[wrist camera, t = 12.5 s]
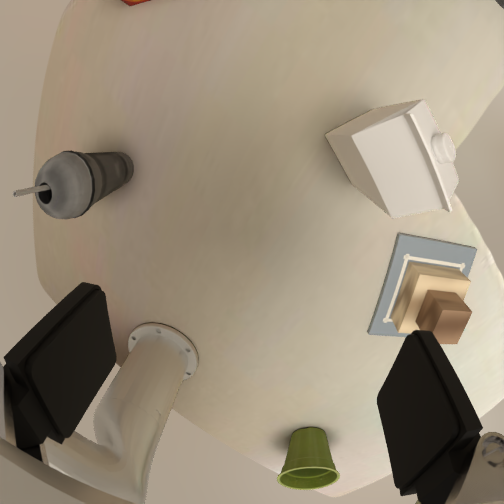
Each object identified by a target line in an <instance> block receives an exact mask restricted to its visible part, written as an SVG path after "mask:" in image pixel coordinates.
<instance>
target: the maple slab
mask: <svg viewBox="0 0 504 504" xmlns="http://www.w3.org/2000/svg"><path fill="white" fill-rule="evenodd" d="M470 282H471V281H470V280H469V279H468V278H467V277H466V276H465V275H464V274H463V273H462V272H461V271H460V270H459V269H455V268H449V267H442V266H436V265H429V264H422V263H416V262H409V264H408V267H407V270H406V273H405V276H404V280H403V283H402V286H401V289H400V292H399V295H398V297H397V300H396V303H395V306H394V309H393V311H392V314H391V319H392V321H393V323H394V325H395V327H396V329H397V331H398V333H412V332H413V331H414V330H420V329H419V327H418V325H417V324H416V322H415V321H416V318H417V316H418V313H419V311H420V308H421V306H422V303H423V301H424V298H425V295H426V293H427V290H437V291H446V292H455V293H457V294H458V296H459V297H460V298H461V299H462V300H464V298H465V295H466V293H467V290H468V288H469V285H470Z"/></svg>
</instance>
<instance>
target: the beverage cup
mask: <svg viewBox="0 0 504 504" xmlns="http://www.w3.org/2000/svg"><path fill="white" fill-rule="evenodd" d="M132 175H133V163H132V160H131V159H130V157H129V156H128V155H126V154H124V153H117V152H104V153H82V152H74V151H63V152H61V153H59V154H58V155H56V156H54V157H52V158H51V159H49V160H48V161H47V162H46V163H45V164H44V165H43V166H42V168H41V169H40V170H39V173H38V175H37V178H36V181H35V187H32V188H27V189H22V190H17V191H14V192H13V196H14V197H17V196H21V195H26V194H30V193H35V196H36V199H37V202H38V204H39V206H40V208H41V209H42V210H43V211H44V212H45V213H46V214H48V215H50V216H52V217H54V218H57V219H70V218H76V217H79V216H82V215H83V214H84V213H85V212H86V211H88V210H89V208H90V207H91V206H92V205H93V204H95V203H96V202H97V201H99V200H101V199H102V198H104V197H105V196H107V195H108V194H110V193H112V192H113V191H115V190H117V189H118V188H120V187H121V186H123V185H124V184H125V183H127V182H128V181H129V180H130V179H131V177H132Z"/></svg>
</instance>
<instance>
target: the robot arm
mask: <svg viewBox="0 0 504 504" xmlns="http://www.w3.org/2000/svg"><path fill="white" fill-rule="evenodd" d="M128 349H129V352H130V354H129V355H128V357H127V359H126V360H125V362H124V363H123V365H122V367H121V368H120V370H119V371H118V373H117V375H116V376H115V378H114V380H113V381H112V383H111V385H110V386H109V388H108V390H107V391H106V393H105V395H104V397H103V398H102V400H101V402H100V403H99V405H98V407H97V409H96V411H95V414H94V421H93V422H94V431H95V436H96V439H97V443H98V444H96V443H94V442H92V441H91V440H88V439H87V438H85V437H83V436H82V435H80V434H79V433H77V432H75V431H74V430H75V429H76V427H77V425H78V424H79V422H80V420H81V419H82V417H83V415H84V413H85V412H86V410H87V408H88V407H89V405H90V404H91V402H92V400H93V399H94V397H95V396H96V394H97V392H98V391H99V389H100V387H101V386H102V384H103V383H104V381H105V379H106V378H107V376H108V375H109V373H110V372H111V370H112V368H113V367H114V365H115V362H116V352H115V347H114V342H113V337H112V332H111V327H110V321H109V315H108V309H107V302H106V296H105V293H104V292H103V291H102V290H101V288H100V286H98V285H94V284H90V283H86V282H82V283H81V284H79V285H78V286H77V287H76V288H75V289H74V290H73V291H72V292H70V293H69V294H68V295H67V296H66V297H65V298H64V299H63V300H62V301H61V302H59V303H58V304H57V305H56V306H55V307H54V308H53V309H52V310H51V311H50V312H49V313H48V314H47V315H46V316H44V317H43V319H42V320H40V321H39V322H38V323H37V324H36V325H35V326H34V327H33V328H32V329H31V330H30V331H29V332H28V333H27V334H26V335H25V336H24V337H23V338H22V339H21V340H20V341H19V342H18V343H17V344H16V345H15V346H14V347H13V348H12V349H11V350H10V351H9V352H8V353H7V354H6V355H5V356H4V359H5V361H6V365H5V366H4V367H3V366H2V364H1V362H0V504H145V500H146V493H147V486H148V479H149V473H150V469H151V465H152V461H153V458H154V454H155V451H156V448H157V445H158V443H159V440H160V437H161V435H162V432H163V429H164V427H165V424H166V421H167V419H168V416H169V413H170V411H171V408H172V406H173V403H174V400H175V398H176V395H177V393H178V390H179V387H180V385H181V382H182V381H184V380H187V379H189V378H190V377H191V376H192V375H193V374H194V373H195V371H196V369H197V366H198V355H197V352H196V349H195V347H194V346H193V345H192V343H191V342H190V341H189V340H188V339H187V338H186V337H185V336H184V335H183V334H181V333H180V332H179V331H177V330H175V329H173V328H171V327H168V326H166V325H162V324H157V323H148V324H143V325H140V326H138V327H137V328H136V329H135V330H134V331H133V332H132V333H131V335H130V337H129V340H128ZM377 405H378V409H379V413H380V418H381V422H382V426H383V430H384V435H385V439H386V444H387V448H388V453H389V458H390V463H391V468H392V473H393V478H394V483H395V486H396V488H399V489H400V495H401V496H405V495H411V494H416V493H417V497H418V500H417V502H416V504H504V436H503V435H502V434H500V433H497V432H488V433H486V434H484V435H483V436H482V437H481V436H480V434H479V432H480V431H481V430H482V428H483V427H482V425H481V423H480V420H479V418H478V416H477V414H476V412H475V410H474V408H473V406H472V404H471V402H470V400H469V398H468V396H467V394H466V392H465V390H464V388H463V386H462V384H461V382H460V380H459V378H458V376H457V374H456V373H455V371H454V369H453V367H452V365H451V363H450V362H449V360H448V358H447V356H446V354H445V353H444V351H443V349H442V348H441V346H440V344H439V342H438V341H437V339H436V337H435V336H434V334H433V333H432V331H426V330H414V331H413V332H412V333H411V334H409V335H407V337H406V338H405V341H404V343H403V345H402V347H401V349H400V351H399V354H398V356H397V358H396V360H395V362H394V364H393V366H392V368H391V370H390V372H389V374H388V376H387V378H386V380H385V382H384V384H383V386H382V388H381V389H380V391H379V393H378V396H377Z"/></svg>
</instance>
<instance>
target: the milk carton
mask: <svg viewBox="0 0 504 504" xmlns="http://www.w3.org/2000/svg"><path fill="white" fill-rule="evenodd" d="M325 137H326V139H327V140H328V142H329V144H330V146H331V147H332V149H333V151H334V153H335V154H336V156H337V158H338V160H339V162H340V163H341V165H342V167H343V169H344V171H345V173H346V175H347V176H348V178H349V180H350V182H351V184H352V185H353V186H354V187H355V188H357V189H358V190H359V191H360V192H362V193H363V194H364V195H365V196H367V197H368V198H369V199H370V200H371V201H373V202H374V203H375V204H376V205H377V206H378V207H380V208H381V209H382V210H383V211H384V212H385V213H387V214H388V215H389V216H390V217H391V218H392V219H394V218H399V217H404V216H409V215H414V214H419V213H424V212H429V211H434V210H439V209H445V210H447V211H448V212H452V208H451V205H450V202H449V200H450V198H451V196H452V194H453V192H454V190H455V188H456V186H457V184H458V182H459V179H458V175H457V172H456V169H455V167H454V164H453V161H454V160H455V158H456V151H455V147H454V144H453V141H452V139H451V137H450V136H449V134H447V133H441V132H440V130H439V127H438V125H437V123H436V121H435V118H434V116H433V114H432V112H431V110H430V108H429V106H428V104H427V102H426V100H425V99H422V100H416V101H411V102H405V103H400V104H395V105H391V106H386V107H381V108H377V109H373V110H371V111H369V112H367V113H365V114H363V115H361V116H359V117H357V118H355V119H353V120H351V121H349V122H347V123H345V124H343V125H341V126H340V127H338V128H336V129H334V130H332V131H330V132H328V133H326V134H325Z"/></svg>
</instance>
